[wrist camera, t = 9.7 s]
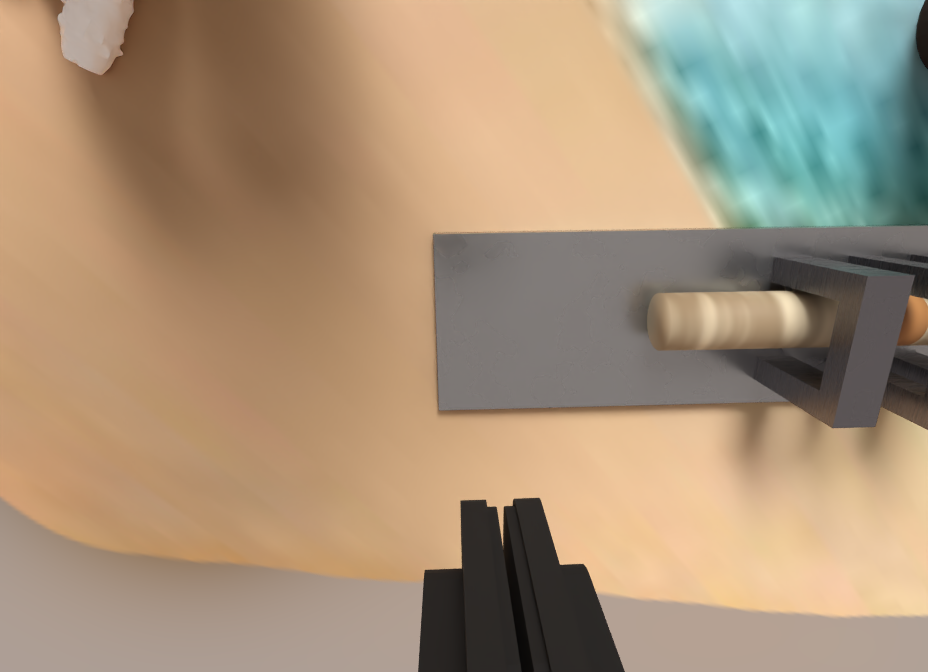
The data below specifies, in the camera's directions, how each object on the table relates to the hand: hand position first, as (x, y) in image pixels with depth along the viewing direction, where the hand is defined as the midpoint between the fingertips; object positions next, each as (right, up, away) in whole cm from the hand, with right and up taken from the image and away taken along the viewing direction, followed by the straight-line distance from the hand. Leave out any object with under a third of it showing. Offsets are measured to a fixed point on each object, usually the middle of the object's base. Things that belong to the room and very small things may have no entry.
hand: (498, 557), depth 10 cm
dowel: (+23, +6, +22) cm, 33 cm away
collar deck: (+17, +6, +23) cm, 29 cm away
